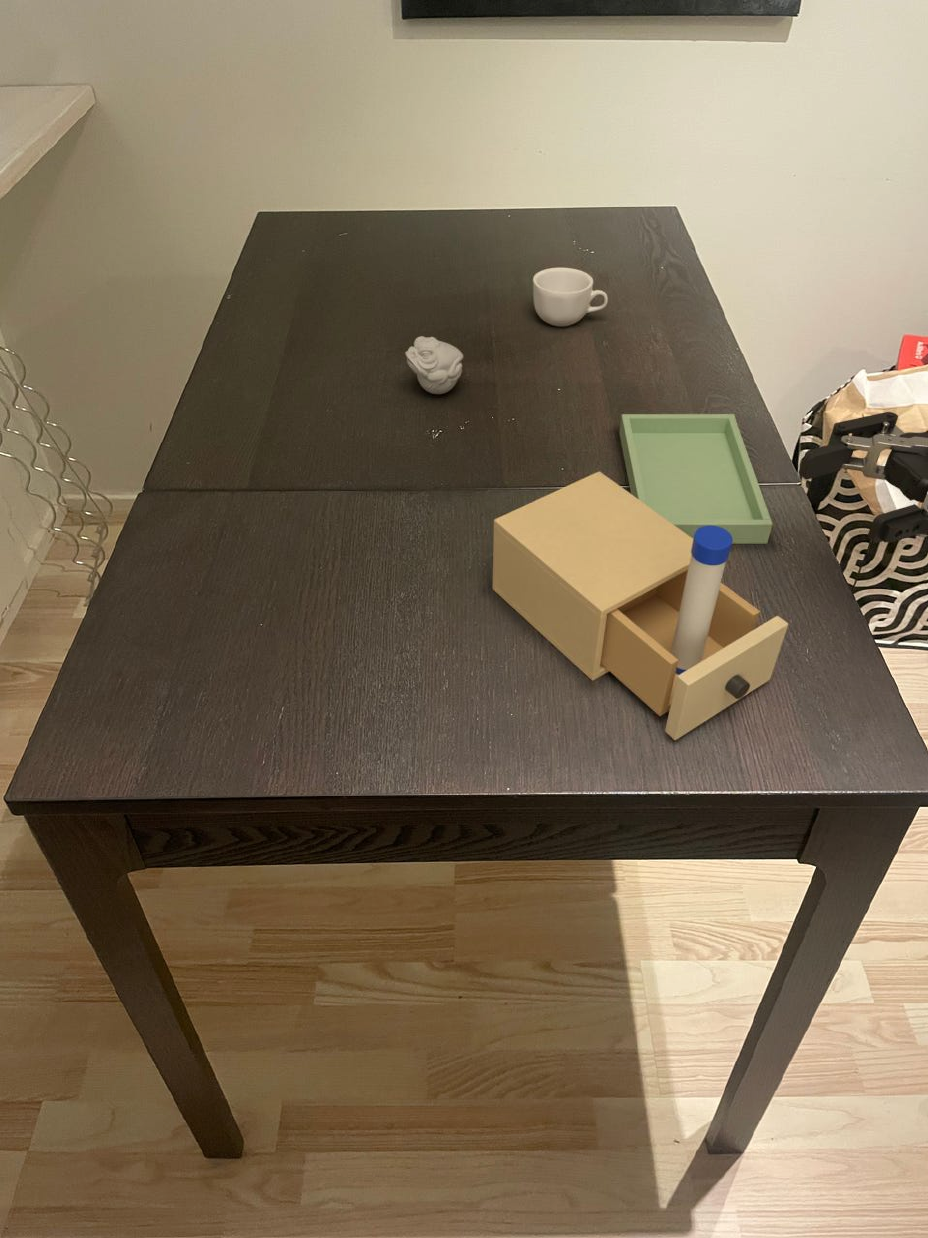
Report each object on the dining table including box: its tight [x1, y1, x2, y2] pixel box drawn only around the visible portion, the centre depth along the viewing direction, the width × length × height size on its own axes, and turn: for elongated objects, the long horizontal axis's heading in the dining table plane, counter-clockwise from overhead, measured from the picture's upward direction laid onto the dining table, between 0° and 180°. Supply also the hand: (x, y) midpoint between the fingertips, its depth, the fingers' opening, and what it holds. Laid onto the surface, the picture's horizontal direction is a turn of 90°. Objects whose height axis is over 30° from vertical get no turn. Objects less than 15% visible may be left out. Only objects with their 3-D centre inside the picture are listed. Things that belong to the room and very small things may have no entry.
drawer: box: [600, 570, 789, 741], centre depth 80 cm, size 15×11×7 cm
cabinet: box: [492, 471, 693, 682], centre depth 86 cm, size 14×12×8 cm
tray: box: [618, 413, 773, 545], centre depth 101 cm, size 20×13×2 cm, turn 0°
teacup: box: [532, 267, 609, 327], centre depth 126 cm, size 10×8×5 cm
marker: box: [671, 526, 733, 675], centre depth 76 cm, size 3×3×14 cm
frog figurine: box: [404, 335, 464, 395], centre depth 113 cm, size 6×7×7 cm
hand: (837, 497), depth 73 cm, fingers open, 8 cm apart
